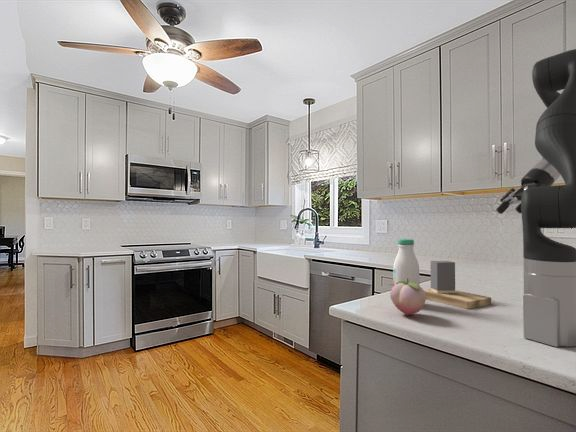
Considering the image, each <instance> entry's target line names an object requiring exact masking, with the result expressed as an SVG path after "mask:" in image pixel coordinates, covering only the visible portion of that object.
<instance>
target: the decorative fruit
mask: <svg viewBox="0 0 576 432" xmlns="http://www.w3.org/2000/svg"><path fill="white" fill-rule="evenodd" d="M424 290H425V289H424V288H423V287H422V286H421V285H420V286H419V285H417V284H416V283H409V282H408V278H407V282H406V281H399V282H397V283H396V285H395V286H394V287H393V286H392V288H391V290H390V295H389V296H390V299H391V301H392V303H393V305H394V307H396V308H397V310H399V311H400V312H402V314H404V315H406V316H411V315H414V314H416V313H419V312H420V311H421V310H422V309H423V308H424V306H425V303H426V301H427V299H426V294H425V292H424Z"/></svg>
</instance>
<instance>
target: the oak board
mask: <svg viewBox="0 0 576 432" xmlns="http://www.w3.org/2000/svg"><path fill="white" fill-rule="evenodd" d="M423 290H424V292H425V294H426V300H429V299H430V301H434V302H437V301H438V302H439V303H441V304H446V305H451V306H454V307H457V308H462V309H465V310H468V309H474V308H479V307H484V306H489V305H492V297H490V296H486V295H485V296H484V295H480V294H476V293H471V292H466V291H461V290H456V289H455V293H436V292H434V291H431V288H430V289H423Z"/></svg>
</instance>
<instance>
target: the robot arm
mask: <svg viewBox="0 0 576 432" xmlns="http://www.w3.org/2000/svg"><path fill="white" fill-rule="evenodd" d="M531 76H532V79H531V80H532V83H533V88H534V89H535V91H536V93H537V95H538V97H539V98H540V100H541V101H542V103H543V104H544V106H545V107H546V109H545V110H544V111H543V112H542V114H541V115H540V116H539V118H538V120H537V122H536V126H535V138H534V147H535V149H536V151H537V152H538V153H539V155H540V156H541V157H542V159H540V160H539V161H538V162H536V164H535V165H533V167H531V168H530V170H529V171H528V172H526V174H524V176H523V177H522V178H521V180H520V183H521V185H520V186H519V187H517V188H516V189H515V187H514V188H510V189H509V190H508V191H507V192H506V193H505V194H504V195H503V196H502V197H501V198H500V199H499V201H500V202H501V204H499V205H498V206H497V207H496V209H495V211H496V213H498V214H499V215H500V214H501V215H502V214H504V213H505V211H506V210H507V209H508V208H509V207H510V206H512V205H514V204H518V205H517V206H516V207H515V208H514V209H515V211H516V212H517V213H518V214H521V221H522V223H521V224H522V241H523V243H522V245H523V246H522V247H523V248H522V249H523V250H522V251H523V252H522V253H523V255H522V256H523V258H522V259H523V260H522V262H523V264H522V265H523V272H522V273H523V296H522V299H523V301H522V303H523V306H522V309H523V310H522V311H523V312H522V313H523V318H522V319H523V323H522V324H523V338H525V339H528V340H531V341H534V342H537V343H542V344H546V345H549V346H552V347H556V348H558V347H576V247H574V246H573V245H569V244H565V243H562V242H559V241H556V240H554V239H551V238H549V237H548V236H547V235H545V234H543V231H542V229H576V48H575V49H570V50H567V51H563V52H560V53H557V54H554V55H552V56H548V57H546V58H545V57H544V58H542V59H540V60H538V61H536V62H535V63H534V64H533V67H532V71H531ZM562 90H563V91H562ZM559 91H562V92H561V93H560V92H559ZM560 177H561V178H562V180H563V181H564V183H565V184H561V185H554V183H555V182H556V181H557V180H558V179H559V178H560Z"/></svg>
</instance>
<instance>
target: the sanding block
mask: <svg viewBox="0 0 576 432" xmlns="http://www.w3.org/2000/svg"><path fill="white" fill-rule="evenodd" d="M430 289H431V291H434V292H436V293H455V290H456V262H455V261H451V260H430Z"/></svg>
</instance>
